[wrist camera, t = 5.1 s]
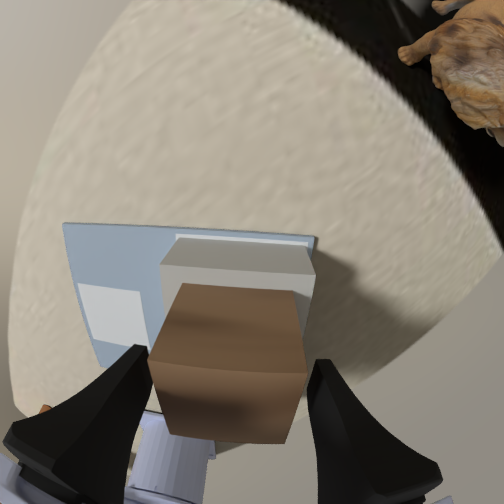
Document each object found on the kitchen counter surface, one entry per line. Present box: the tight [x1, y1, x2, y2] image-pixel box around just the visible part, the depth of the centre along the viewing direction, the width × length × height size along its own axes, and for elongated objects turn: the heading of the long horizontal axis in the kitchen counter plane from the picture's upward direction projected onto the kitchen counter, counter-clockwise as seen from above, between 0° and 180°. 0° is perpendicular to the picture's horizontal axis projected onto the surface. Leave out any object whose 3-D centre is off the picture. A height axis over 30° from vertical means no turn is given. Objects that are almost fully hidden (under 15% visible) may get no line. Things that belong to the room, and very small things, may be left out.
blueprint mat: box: [62, 223, 314, 368], centre depth 18 cm, size 13×16×1 cm
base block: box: [159, 237, 316, 341], centre depth 15 cm, size 7×7×4 cm
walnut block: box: [147, 283, 308, 444], centre depth 11 cm, size 5×5×5 cm
